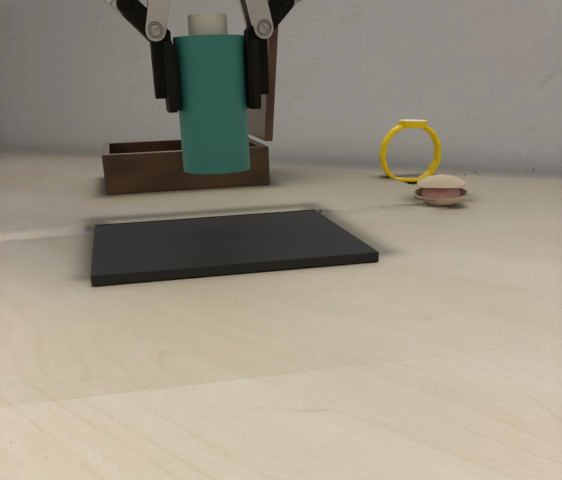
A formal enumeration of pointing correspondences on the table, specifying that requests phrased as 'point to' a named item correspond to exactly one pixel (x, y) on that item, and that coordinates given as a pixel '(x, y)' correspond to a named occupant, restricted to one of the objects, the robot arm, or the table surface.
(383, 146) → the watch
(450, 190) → the macaroon
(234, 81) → the bottle
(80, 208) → the table surface
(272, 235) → the mat
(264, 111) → the lid
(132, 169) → the brown wooden tray
